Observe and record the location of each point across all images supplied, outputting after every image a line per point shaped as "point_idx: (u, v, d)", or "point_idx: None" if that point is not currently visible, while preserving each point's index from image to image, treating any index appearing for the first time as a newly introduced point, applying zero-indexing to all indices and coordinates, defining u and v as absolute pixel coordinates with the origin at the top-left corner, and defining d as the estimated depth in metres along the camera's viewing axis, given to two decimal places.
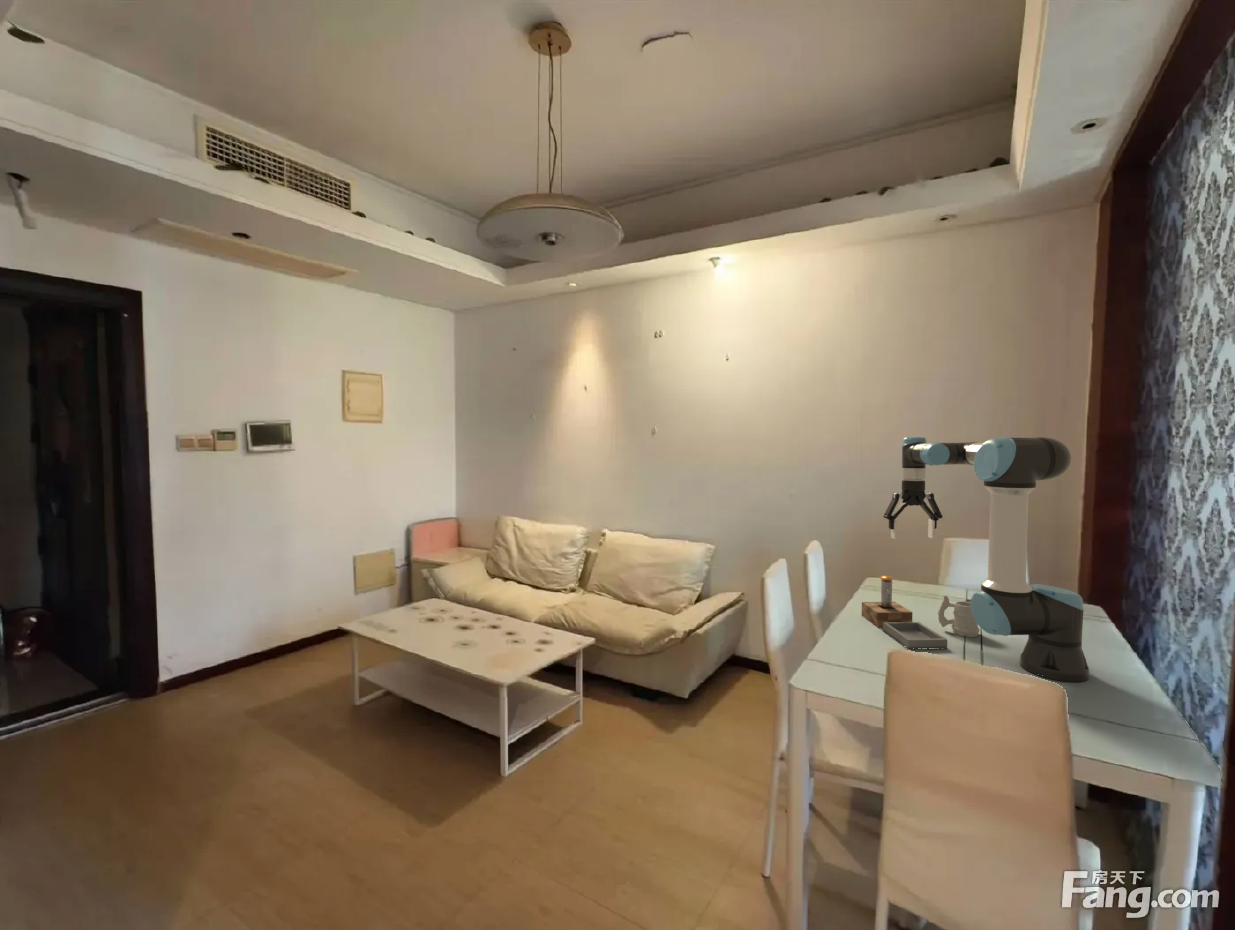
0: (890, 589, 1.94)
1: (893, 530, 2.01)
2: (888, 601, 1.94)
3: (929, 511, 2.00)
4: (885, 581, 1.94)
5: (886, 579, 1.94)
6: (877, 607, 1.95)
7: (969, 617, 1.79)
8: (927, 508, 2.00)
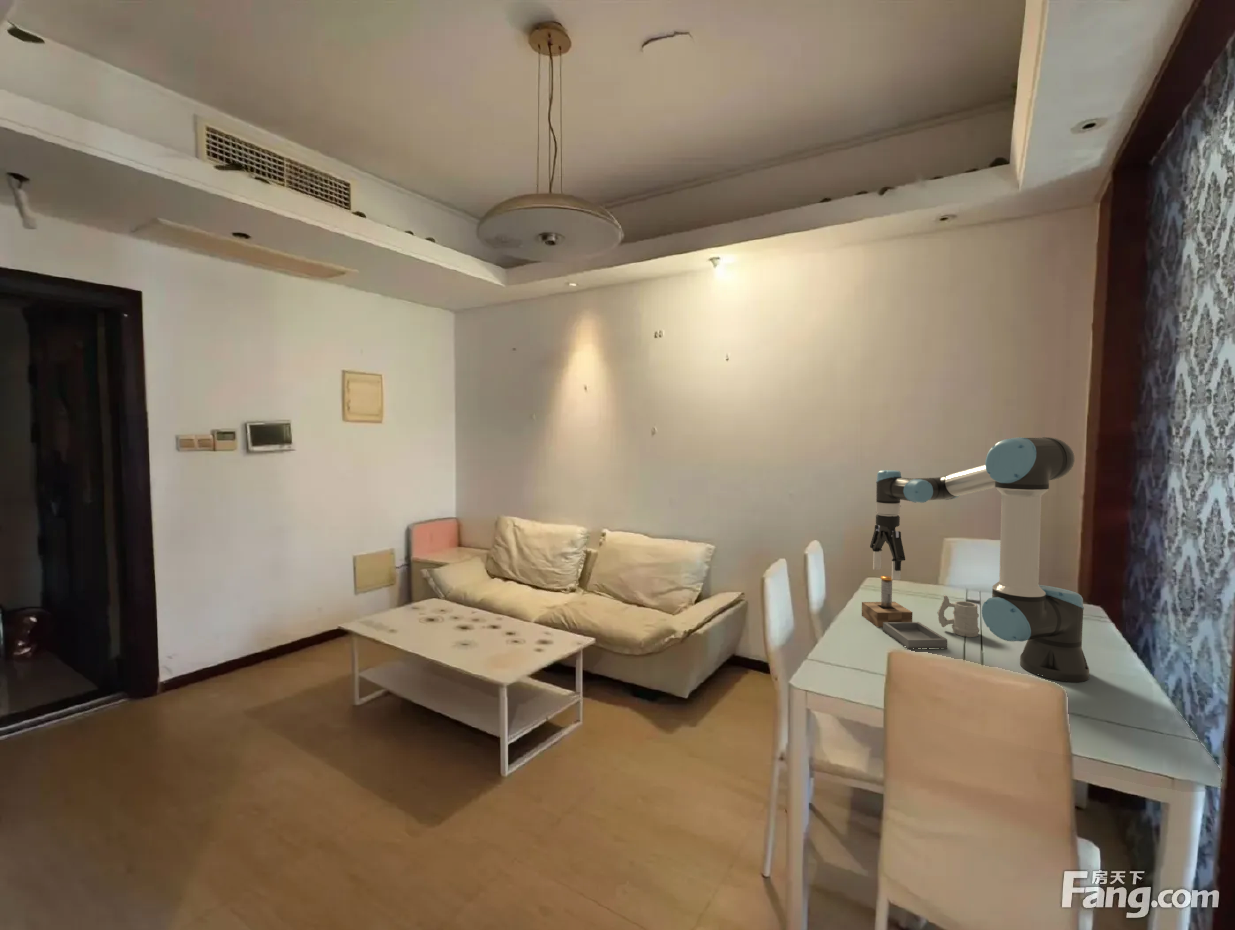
0: (890, 589, 1.94)
1: None
2: (888, 601, 1.94)
3: (891, 550, 1.89)
4: (885, 581, 1.94)
5: (886, 579, 1.94)
6: (877, 607, 1.95)
7: (969, 617, 1.79)
8: (890, 546, 1.90)
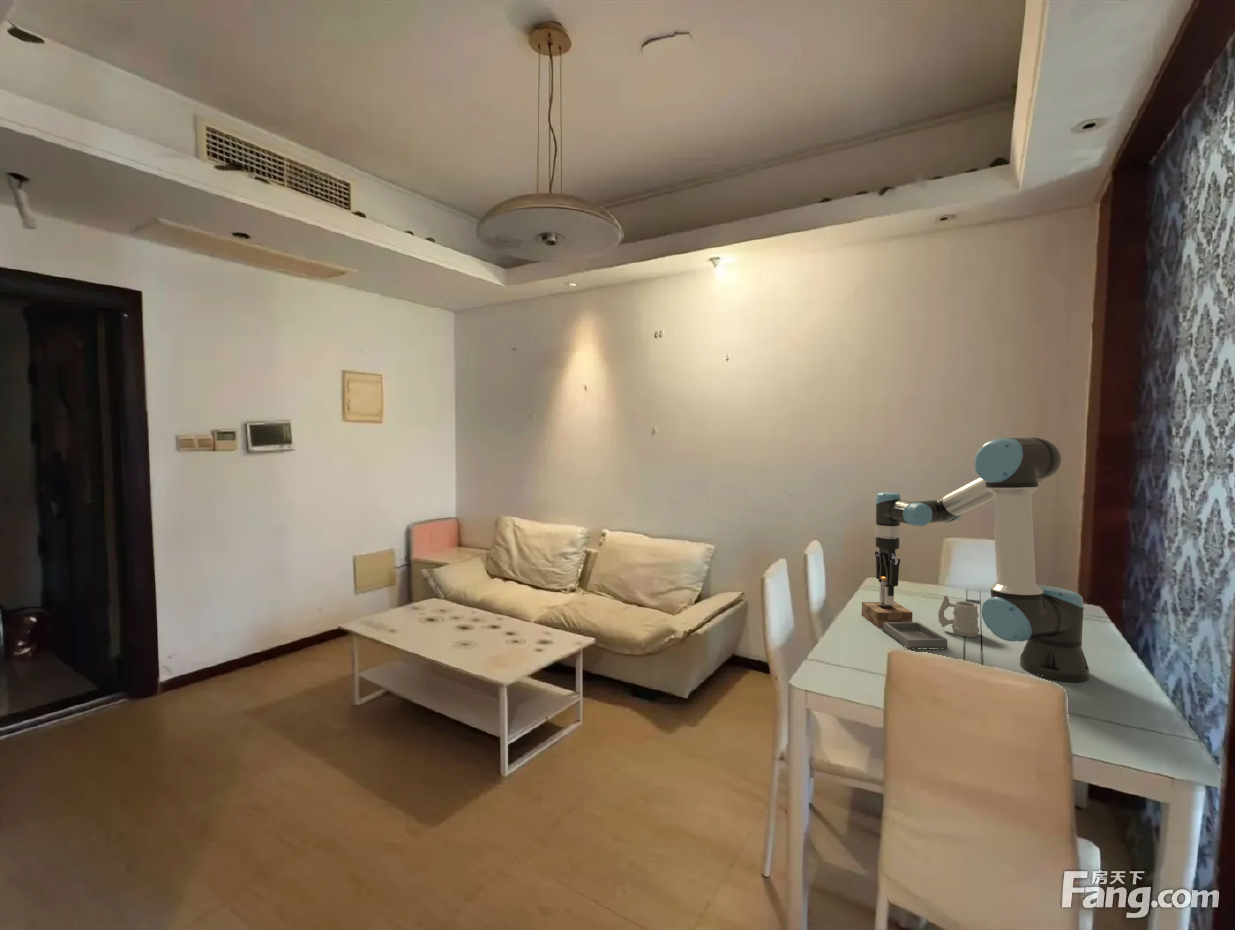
0: None
1: None
2: None
3: (886, 574, 1.93)
4: (885, 581, 1.94)
5: None
6: (877, 607, 1.95)
7: (969, 617, 1.79)
8: (886, 570, 1.93)
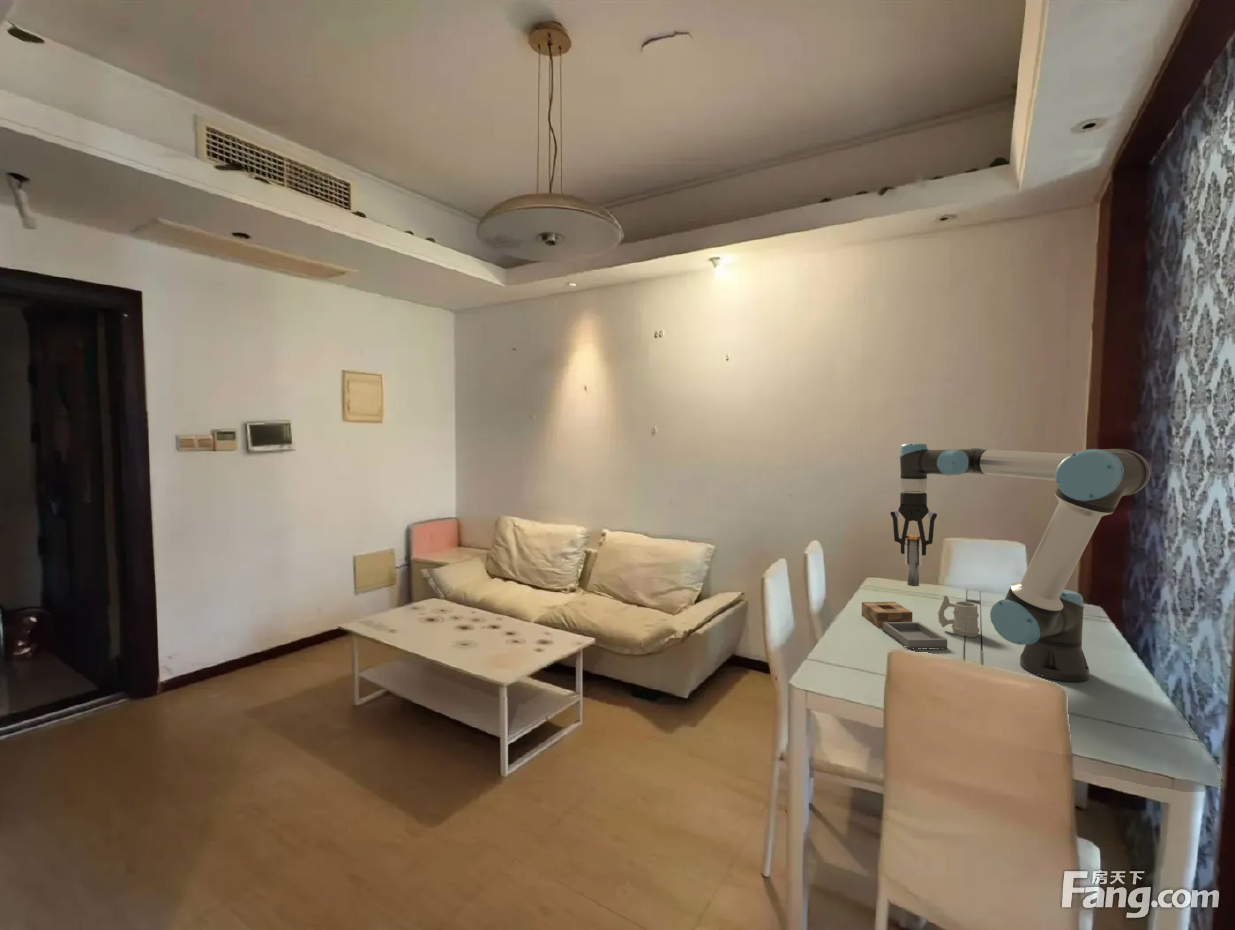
0: None
1: None
2: None
3: (921, 532, 1.76)
4: (917, 540, 1.76)
5: (919, 538, 1.76)
6: (877, 607, 1.95)
7: (969, 617, 1.79)
8: (920, 528, 1.76)
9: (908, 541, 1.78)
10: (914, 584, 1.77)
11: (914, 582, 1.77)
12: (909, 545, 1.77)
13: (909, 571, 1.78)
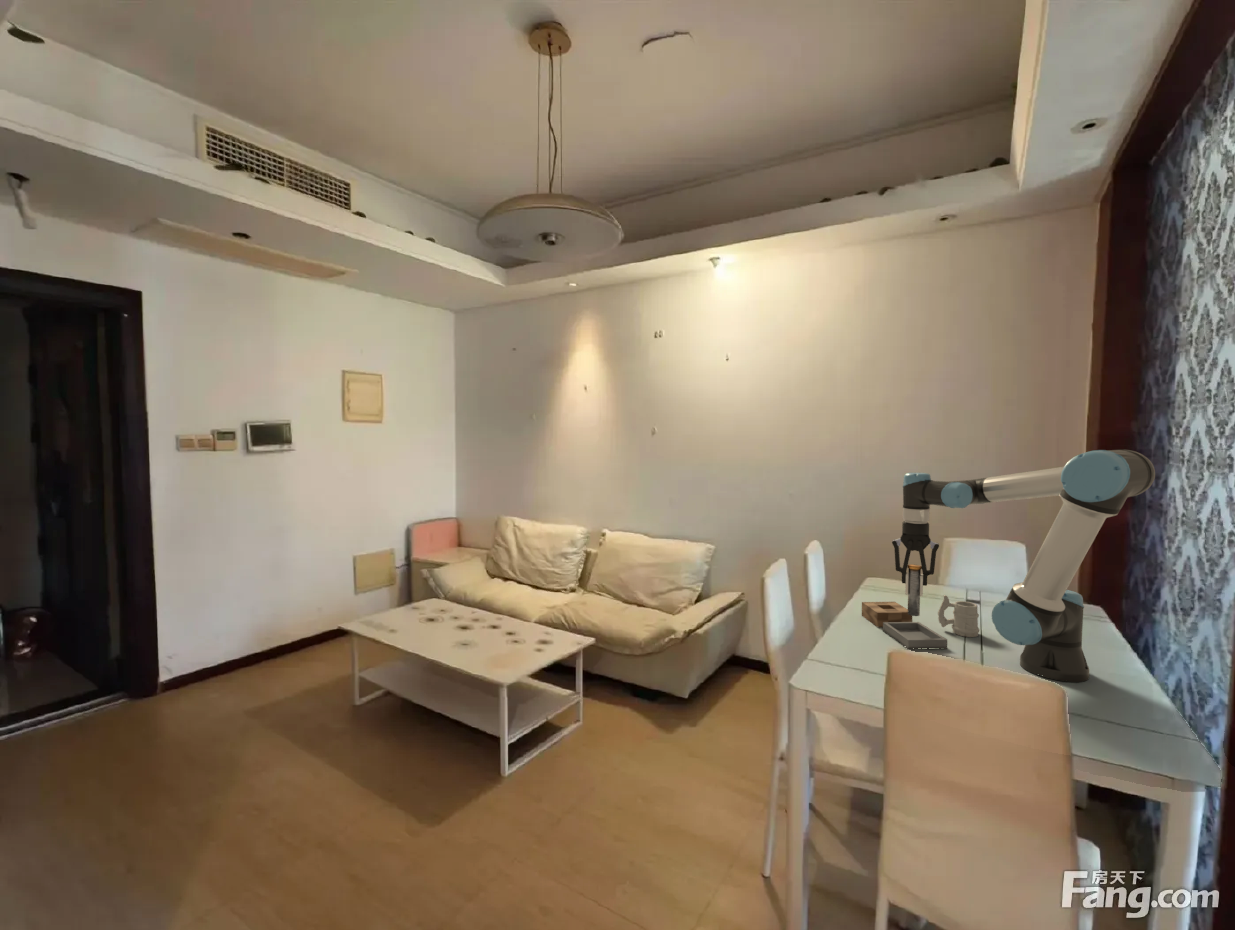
0: None
1: None
2: None
3: (922, 563, 1.75)
4: (919, 570, 1.75)
5: (920, 568, 1.75)
6: (877, 607, 1.95)
7: (969, 617, 1.79)
8: (922, 558, 1.75)
9: (909, 571, 1.77)
10: (914, 614, 1.76)
11: (915, 612, 1.76)
12: (910, 575, 1.76)
13: (910, 601, 1.77)
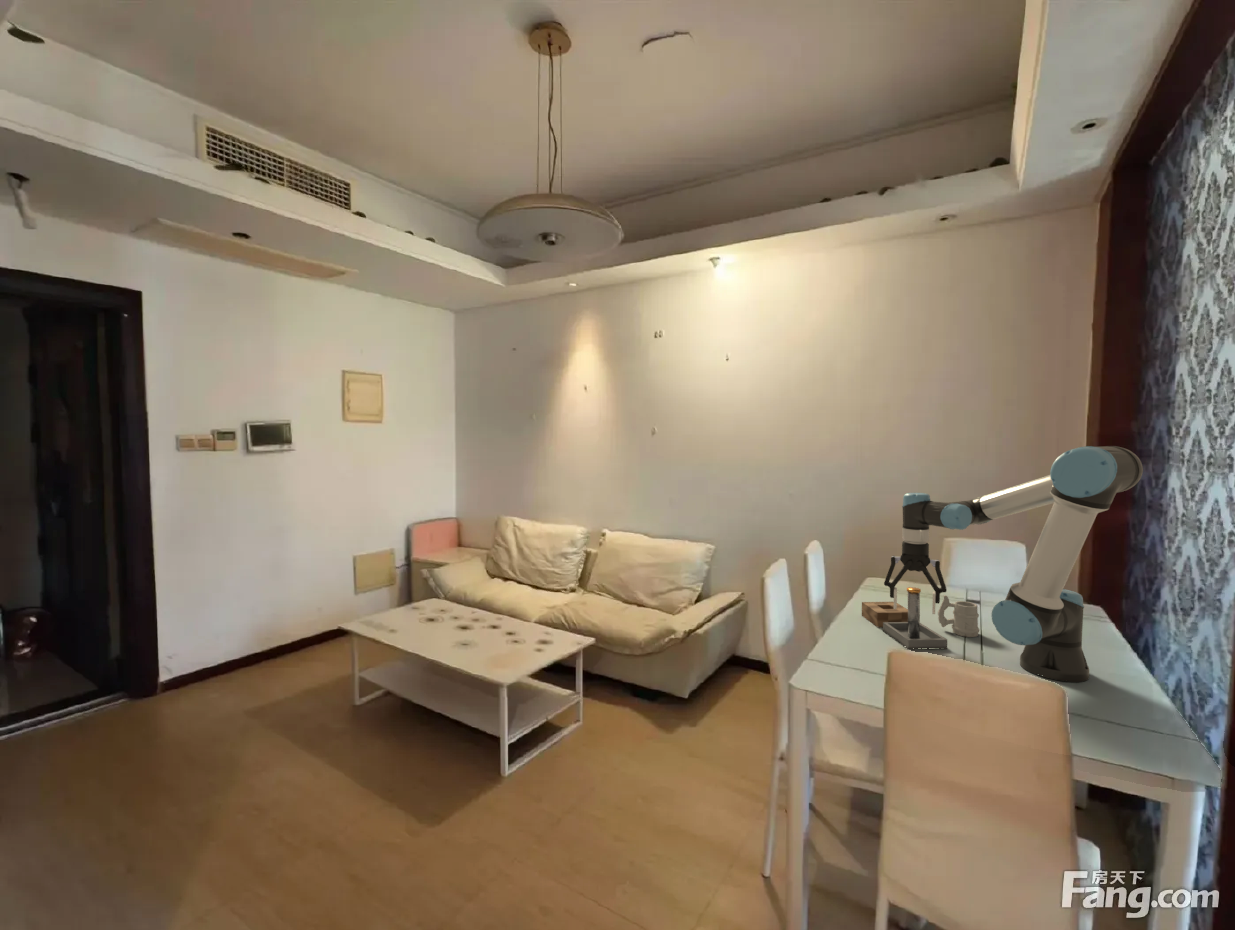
0: None
1: None
2: (919, 614, 1.77)
3: (930, 581, 1.74)
4: (918, 594, 1.76)
5: (919, 591, 1.76)
6: (877, 607, 1.95)
7: (969, 617, 1.79)
8: (928, 577, 1.74)
9: (908, 594, 1.77)
10: (915, 637, 1.76)
11: (915, 635, 1.76)
12: (909, 598, 1.77)
13: (910, 624, 1.77)
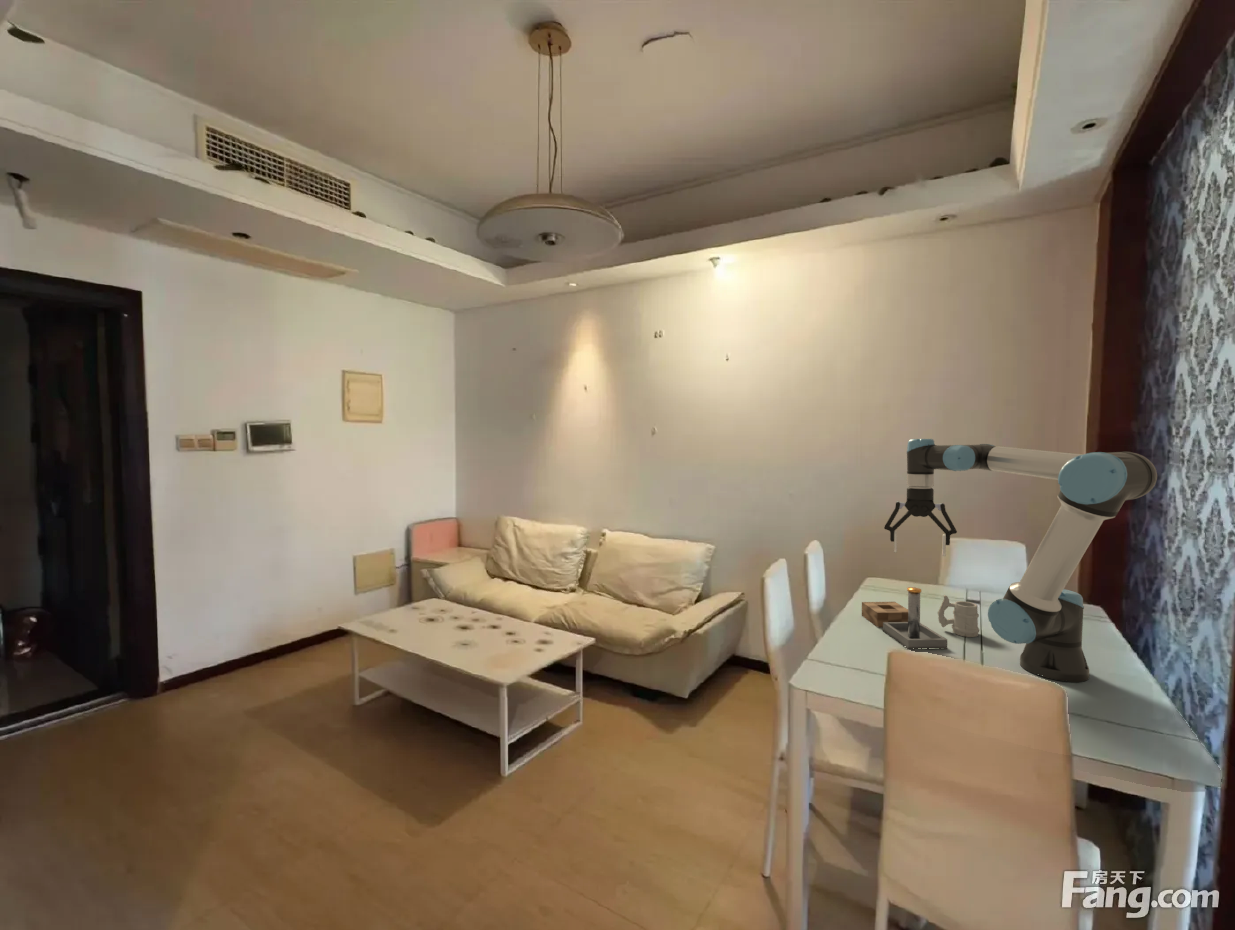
0: None
1: (894, 543, 1.80)
2: None
3: (939, 524, 1.74)
4: (918, 594, 1.76)
5: (920, 591, 1.76)
6: (877, 607, 1.95)
7: (969, 617, 1.79)
8: (936, 521, 1.74)
9: (909, 594, 1.77)
10: (915, 637, 1.76)
11: (915, 635, 1.76)
12: (910, 598, 1.77)
13: (910, 624, 1.77)
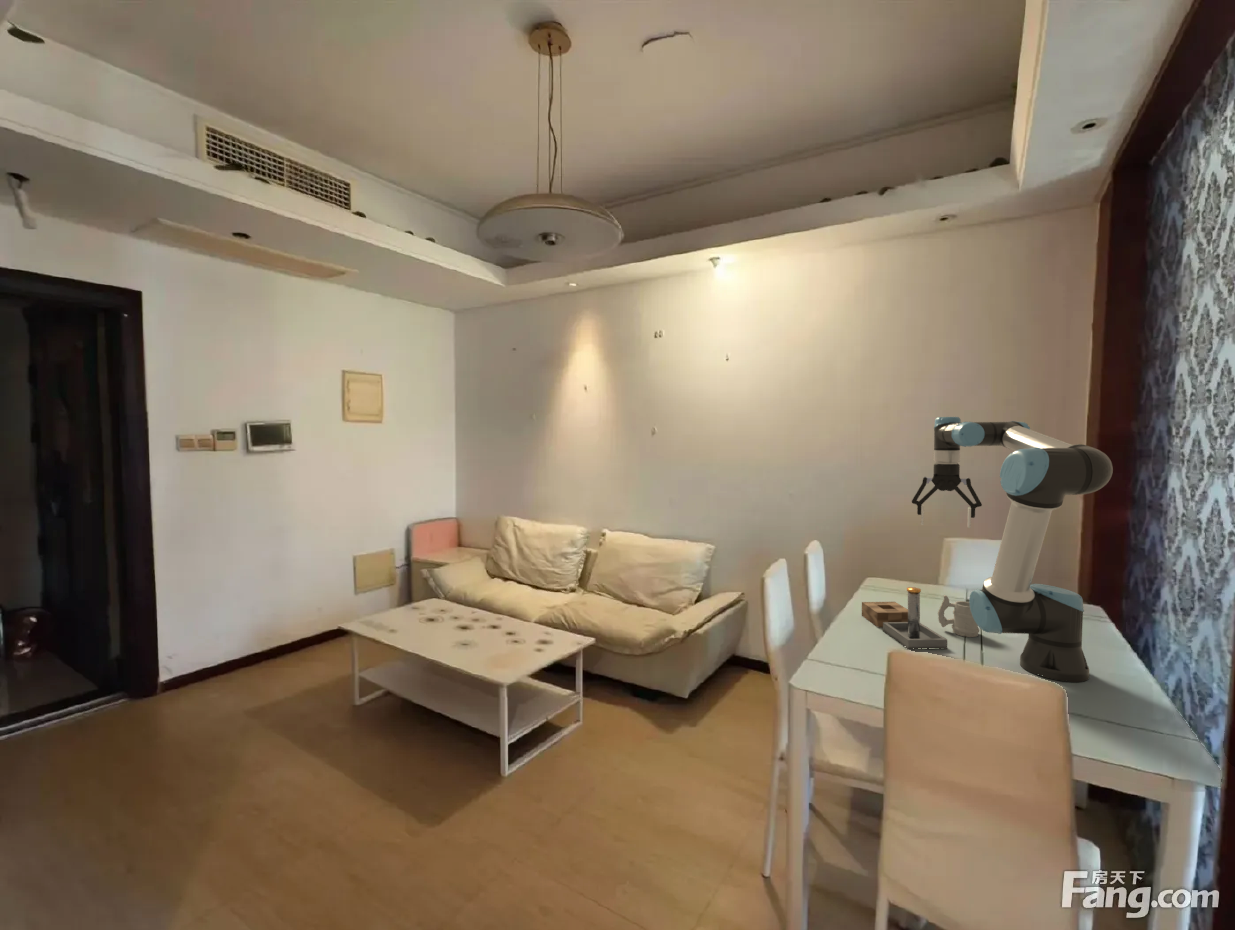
0: None
1: (921, 516, 1.90)
2: (919, 614, 1.77)
3: (964, 498, 1.83)
4: (918, 593, 1.76)
5: (919, 591, 1.76)
6: (877, 607, 1.95)
7: (969, 617, 1.79)
8: (962, 494, 1.83)
9: (908, 594, 1.77)
10: (915, 637, 1.76)
11: (915, 635, 1.76)
12: (909, 598, 1.77)
13: (910, 624, 1.77)
